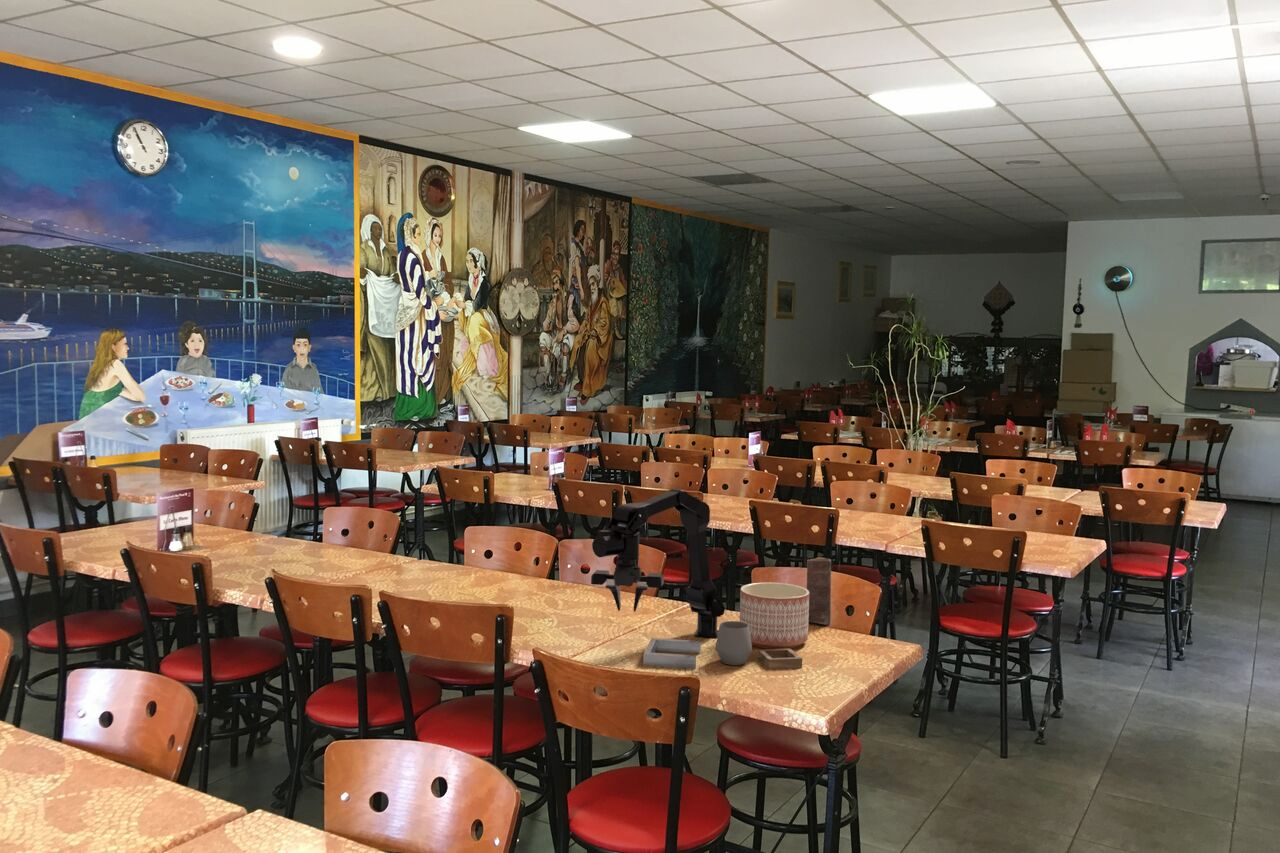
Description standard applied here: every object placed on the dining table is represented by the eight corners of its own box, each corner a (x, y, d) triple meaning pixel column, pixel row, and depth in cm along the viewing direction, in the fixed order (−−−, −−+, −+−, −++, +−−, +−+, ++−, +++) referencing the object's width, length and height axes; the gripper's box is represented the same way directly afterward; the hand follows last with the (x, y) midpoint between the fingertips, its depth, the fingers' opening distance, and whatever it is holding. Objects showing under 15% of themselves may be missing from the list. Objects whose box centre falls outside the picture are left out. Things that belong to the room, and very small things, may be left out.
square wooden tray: (757, 658, 264) (758, 649, 264) (790, 657, 266) (790, 648, 265) (768, 669, 255) (769, 659, 255) (802, 667, 257) (802, 658, 257)
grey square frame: (643, 665, 256) (643, 653, 256) (651, 648, 271) (651, 638, 271) (695, 668, 254) (695, 657, 254) (700, 652, 269) (700, 641, 269)
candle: (811, 627, 297) (813, 560, 295) (801, 620, 304) (803, 556, 302) (834, 625, 299) (836, 560, 297) (823, 619, 306) (825, 555, 304)
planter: (732, 646, 274) (733, 594, 273) (747, 629, 292) (748, 580, 291) (801, 654, 268) (803, 600, 267) (812, 636, 286) (814, 586, 285)
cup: (708, 659, 262) (709, 622, 262) (739, 655, 266) (740, 618, 266) (726, 669, 254) (727, 631, 253) (758, 665, 258) (759, 627, 257)
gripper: (587, 556, 256) (586, 616, 257) (659, 560, 253) (657, 620, 254) (595, 548, 267) (594, 606, 268) (664, 552, 264) (663, 610, 265)
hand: (627, 610), depth 263 cm, fingers open, 4 cm apart
